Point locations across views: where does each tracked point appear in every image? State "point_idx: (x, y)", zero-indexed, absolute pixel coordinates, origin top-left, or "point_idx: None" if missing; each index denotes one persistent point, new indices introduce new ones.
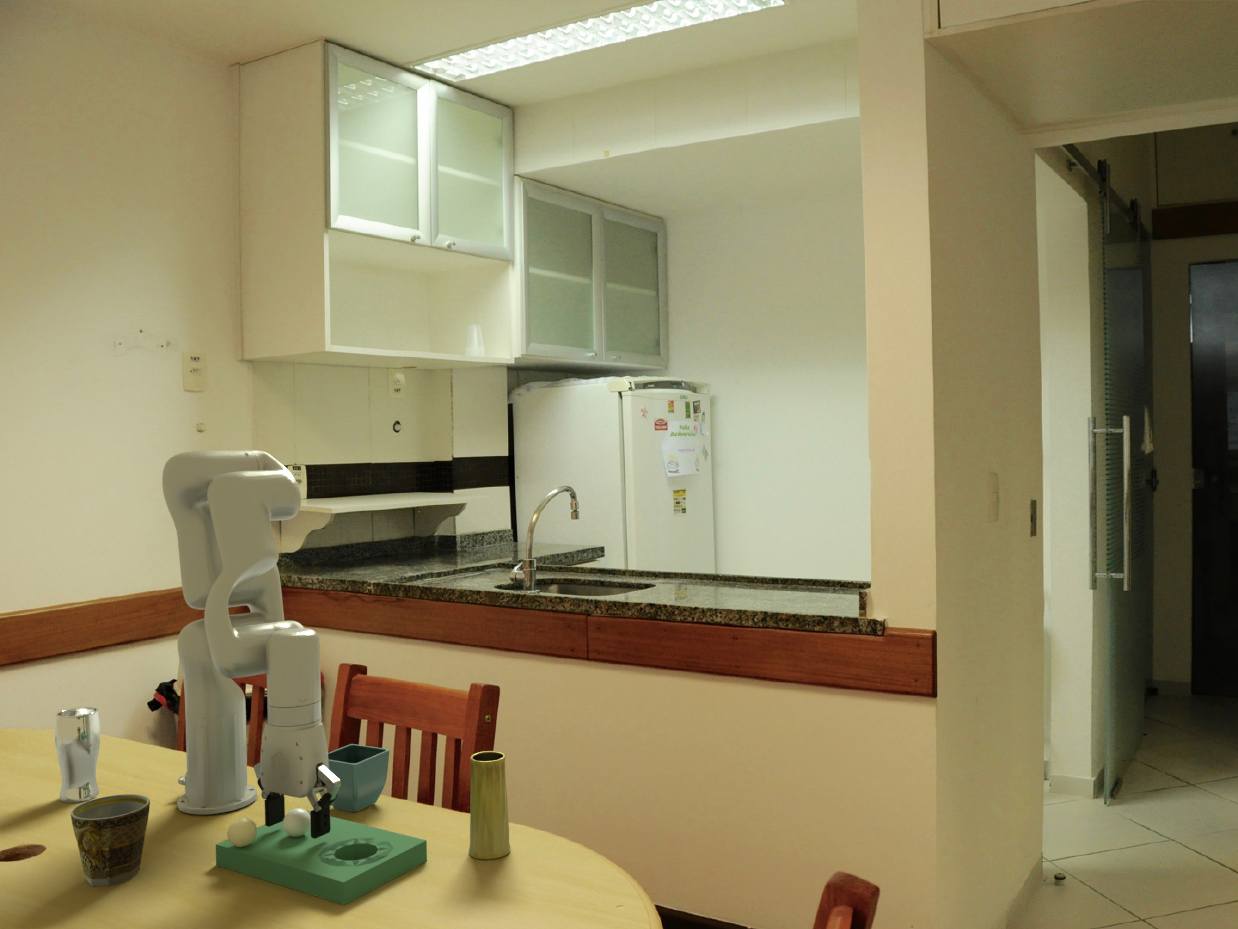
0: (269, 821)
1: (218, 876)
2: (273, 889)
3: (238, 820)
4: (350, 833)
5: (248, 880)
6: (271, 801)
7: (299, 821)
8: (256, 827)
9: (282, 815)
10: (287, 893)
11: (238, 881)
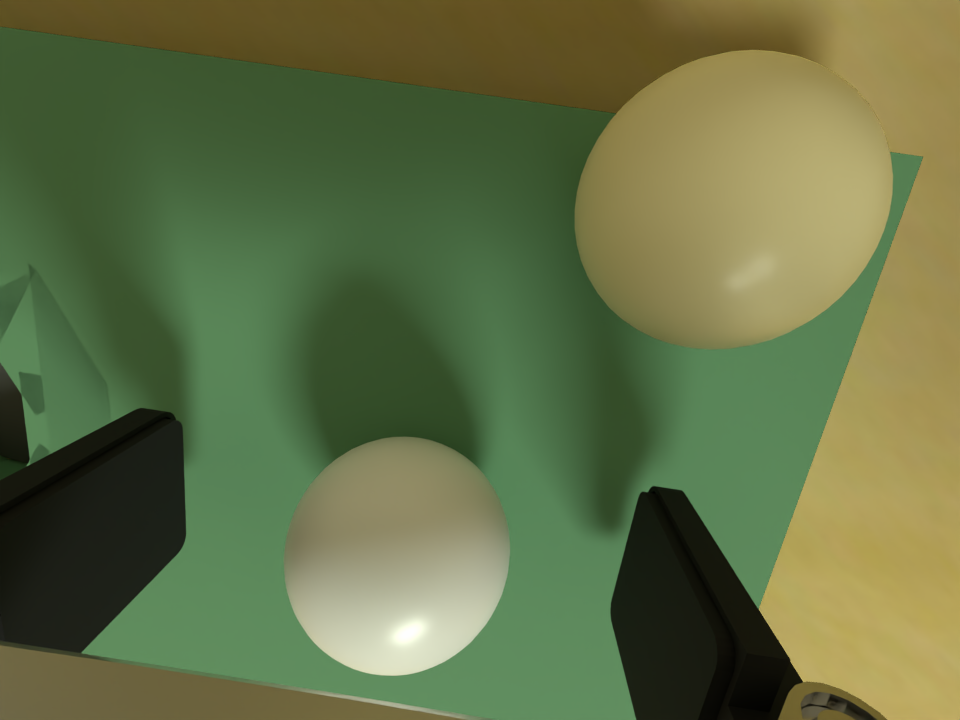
0: (650, 511)
1: (692, 39)
2: (235, 25)
3: (803, 154)
4: (154, 610)
5: (467, 69)
6: (706, 675)
7: (301, 514)
8: (611, 303)
9: (623, 626)
10: (122, 14)
11: (515, 30)
